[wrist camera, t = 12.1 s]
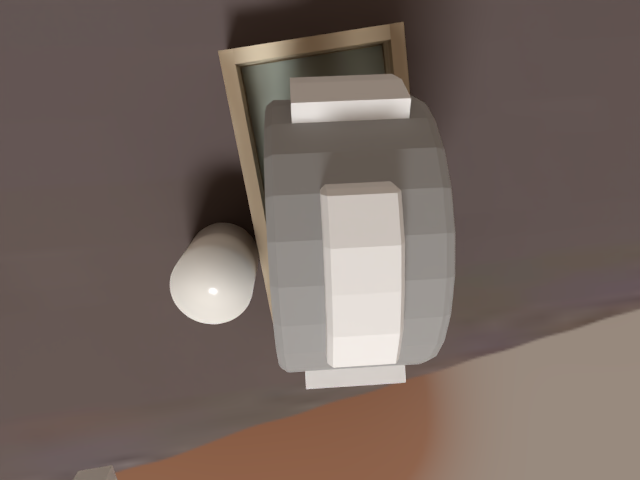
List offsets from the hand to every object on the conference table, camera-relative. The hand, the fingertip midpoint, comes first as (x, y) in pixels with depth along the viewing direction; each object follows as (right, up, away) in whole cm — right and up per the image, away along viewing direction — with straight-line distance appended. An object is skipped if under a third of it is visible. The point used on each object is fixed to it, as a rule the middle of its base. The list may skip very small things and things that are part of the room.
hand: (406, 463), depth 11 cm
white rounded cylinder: (-10, +4, +30) cm, 32 cm away
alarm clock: (-1, +9, +28) cm, 30 cm away
